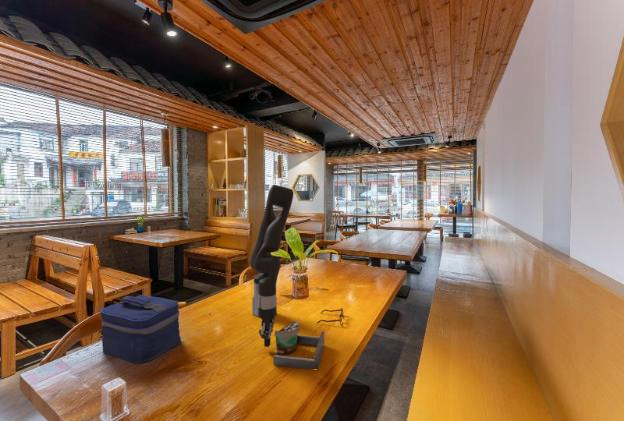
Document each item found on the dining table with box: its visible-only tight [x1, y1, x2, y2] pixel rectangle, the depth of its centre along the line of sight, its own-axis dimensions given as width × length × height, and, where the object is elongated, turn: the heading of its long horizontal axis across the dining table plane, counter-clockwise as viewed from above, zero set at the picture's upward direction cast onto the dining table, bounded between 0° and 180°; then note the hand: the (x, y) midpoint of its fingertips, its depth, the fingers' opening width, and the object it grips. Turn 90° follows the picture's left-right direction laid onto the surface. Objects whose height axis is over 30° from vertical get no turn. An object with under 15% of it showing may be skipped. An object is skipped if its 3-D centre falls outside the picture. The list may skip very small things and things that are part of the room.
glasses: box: [316, 307, 344, 325], centre depth 142 cm, size 13×13×5 cm
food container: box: [274, 319, 300, 356], centre depth 113 cm, size 12×6×10 cm, turn 144°
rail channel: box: [273, 331, 325, 370], centre depth 111 cm, size 17×17×6 cm
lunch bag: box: [99, 294, 182, 364], centre depth 116 cm, size 31×21×20 cm
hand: (267, 345), depth 113 cm, fingers closed
